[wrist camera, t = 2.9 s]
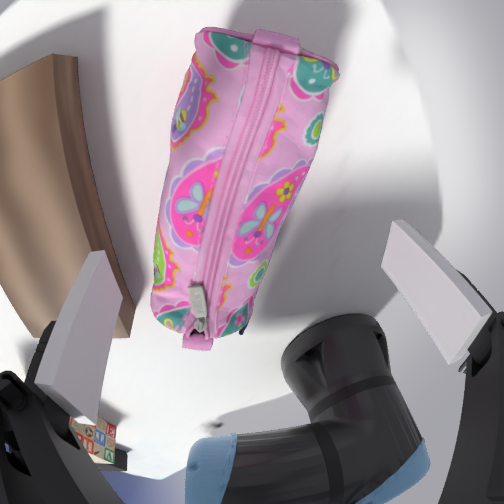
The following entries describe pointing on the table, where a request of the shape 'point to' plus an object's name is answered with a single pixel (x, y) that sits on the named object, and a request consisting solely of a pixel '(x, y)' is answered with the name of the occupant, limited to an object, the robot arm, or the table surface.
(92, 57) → the table surface
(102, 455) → the stack of blocks
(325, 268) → the table surface
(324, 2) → the table surface
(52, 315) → the walnut riser
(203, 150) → the pencil case
